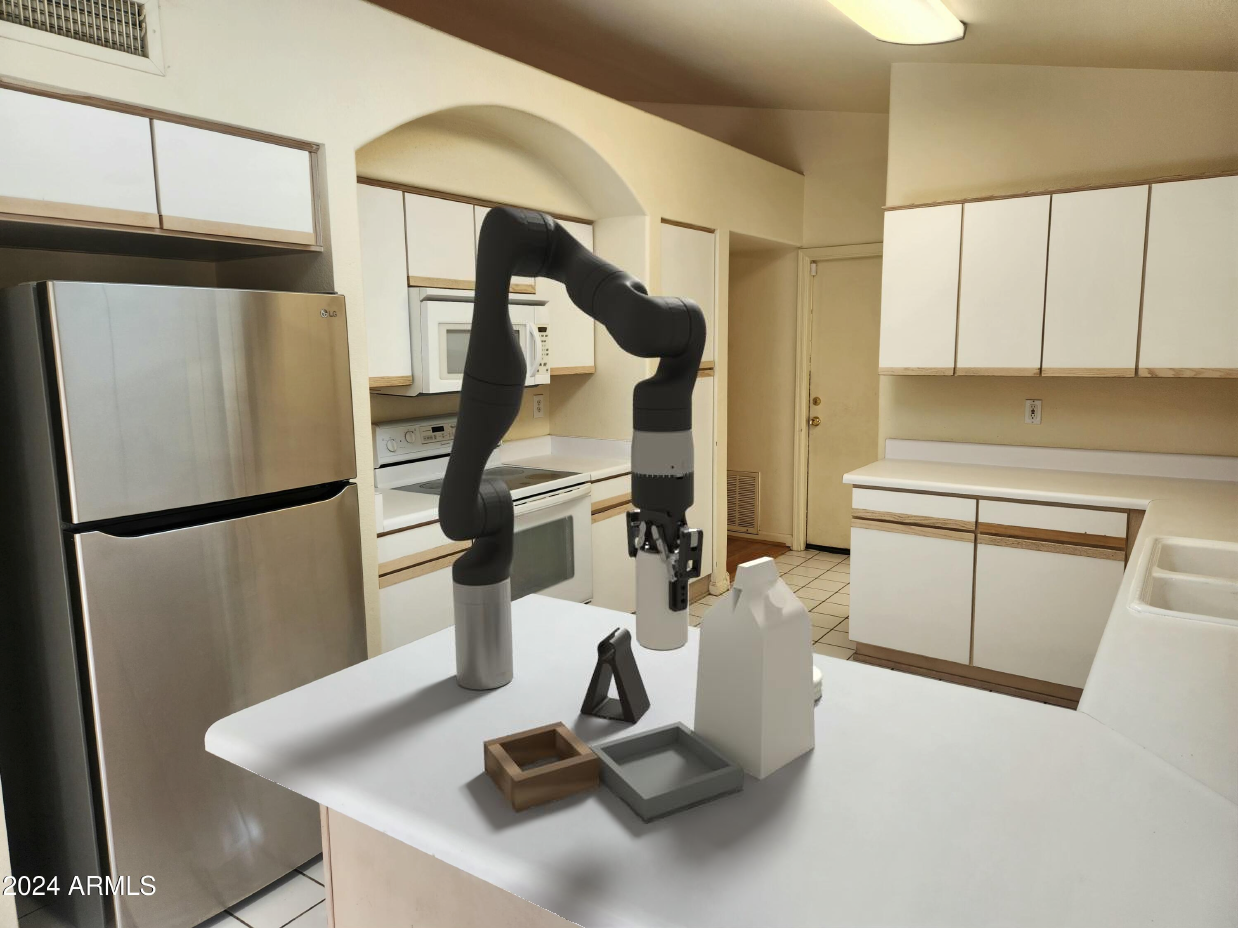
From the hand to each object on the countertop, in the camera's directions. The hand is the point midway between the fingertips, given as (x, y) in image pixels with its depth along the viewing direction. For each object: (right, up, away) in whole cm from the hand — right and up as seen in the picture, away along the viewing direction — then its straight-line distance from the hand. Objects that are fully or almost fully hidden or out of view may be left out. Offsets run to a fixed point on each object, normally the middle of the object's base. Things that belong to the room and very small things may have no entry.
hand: (662, 601), depth 98 cm
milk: (+13, -22, +11) cm, 28 cm away
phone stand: (-6, -20, +23) cm, 31 cm away
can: (0, -5, +1) cm, 5 cm away
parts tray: (0, -23, +3) cm, 23 cm away
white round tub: (+22, -19, +29) cm, 41 cm away
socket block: (-15, -23, +4) cm, 28 cm away
